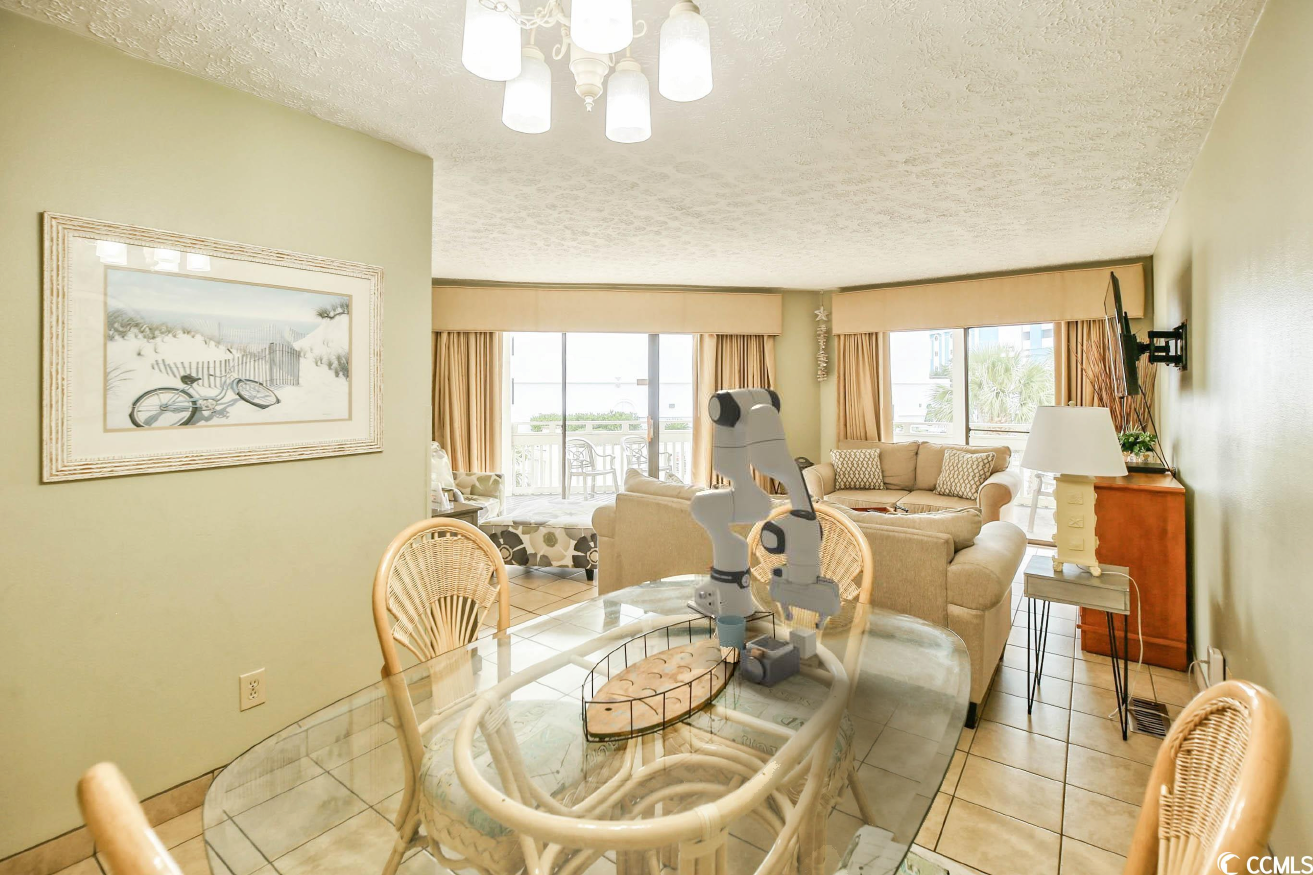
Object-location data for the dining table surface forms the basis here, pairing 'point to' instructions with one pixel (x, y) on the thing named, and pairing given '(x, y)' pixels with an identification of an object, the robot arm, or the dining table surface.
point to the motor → (769, 661)
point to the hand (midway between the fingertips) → (804, 624)
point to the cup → (731, 631)
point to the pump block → (804, 641)
